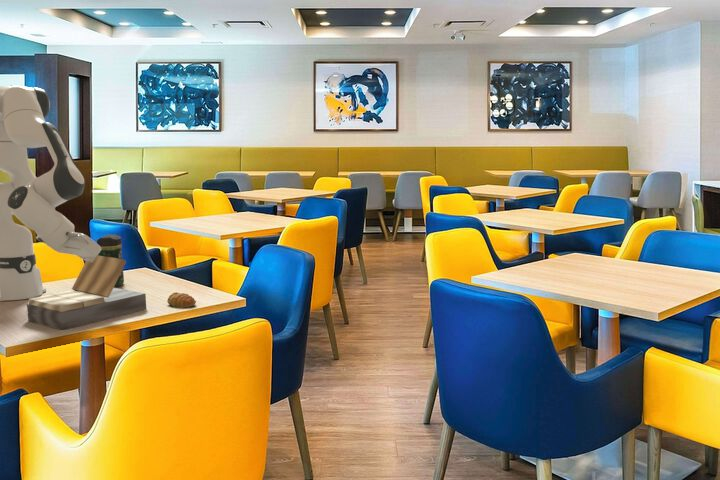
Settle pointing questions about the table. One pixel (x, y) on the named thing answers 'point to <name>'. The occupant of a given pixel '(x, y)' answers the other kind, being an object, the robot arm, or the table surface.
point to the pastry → (181, 300)
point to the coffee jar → (112, 251)
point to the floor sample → (82, 307)
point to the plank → (99, 276)
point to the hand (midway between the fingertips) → (91, 260)
